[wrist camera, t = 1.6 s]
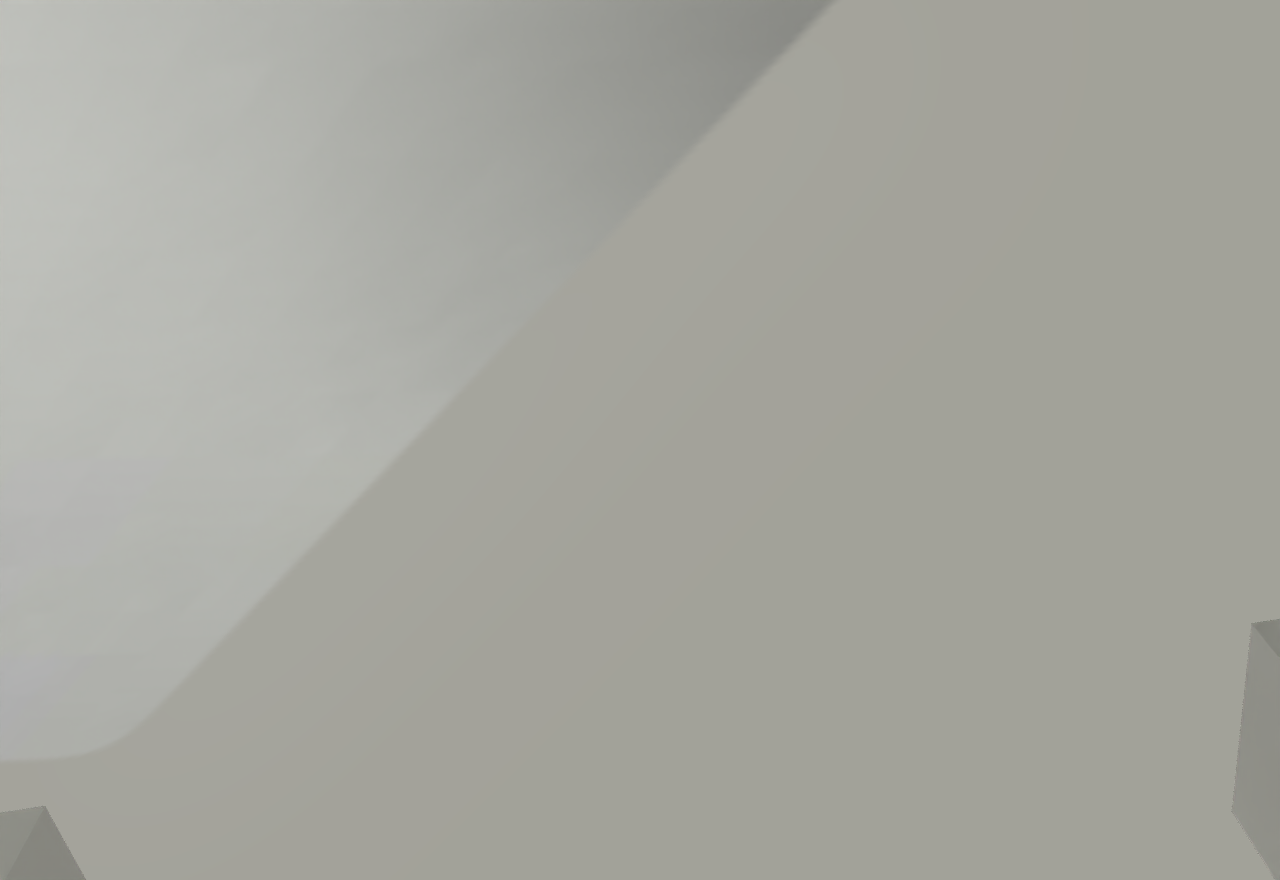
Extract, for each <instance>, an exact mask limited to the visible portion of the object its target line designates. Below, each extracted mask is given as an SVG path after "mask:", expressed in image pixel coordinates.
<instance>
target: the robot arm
mask: <svg viewBox="0 0 1280 880" xmlns="http://www.w3.org/2000/svg"><path fill="white" fill-rule="evenodd" d="M1232 813H1233V814H1234V816H1235V817H1236V819H1237V821H1238V822H1239V824H1240V825H1241V827H1242V829H1243V830H1244V831H1245V833H1246V835H1247V836H1248V838H1249V840H1250V841H1251V843H1252V844H1253V846H1254V847H1255V849H1256V850H1257V852H1258V854H1259V855H1260V857H1261V859H1262V860H1263V862H1264V863H1265V865H1266V866H1267V868H1268V869H1269V871H1270V873H1271V874H1272V876H1273V877H1274V879H1275V880H1280V619H1277V620H1270V621H1263V622H1257V623H1252V624H1251V634H1250V643H1249V652H1248V663H1247V672H1246V681H1245V690H1244V700H1243V709H1242V719H1241V729H1240V739H1239V748H1238V758H1237V767H1236V776H1235V786H1234V796H1233V805H1232ZM0 880H86V879H85V877H84V875H83V874H82V872H81V870H80V868H79V866H78V865H77V863H76V861H75V859H74V857H73V856H72V854H71V852H70V850H69V848H68V847H67V845H66V843H65V841H64V839H63V838H62V836H61V834H60V832H59V830H58V829H57V827H56V825H55V823H54V821H53V819H52V818H51V816H50V814H49V812H48V810H47V809H46V807H45V806H41V807H35V808H28V809H22V810H15V811H8V812H2V813H0Z"/></svg>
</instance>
